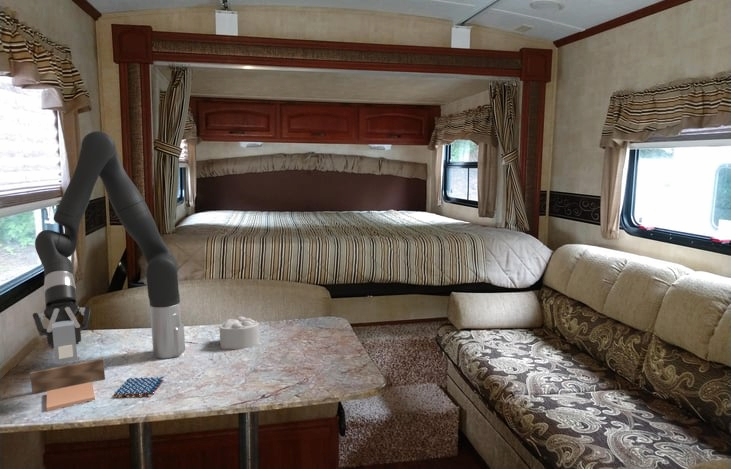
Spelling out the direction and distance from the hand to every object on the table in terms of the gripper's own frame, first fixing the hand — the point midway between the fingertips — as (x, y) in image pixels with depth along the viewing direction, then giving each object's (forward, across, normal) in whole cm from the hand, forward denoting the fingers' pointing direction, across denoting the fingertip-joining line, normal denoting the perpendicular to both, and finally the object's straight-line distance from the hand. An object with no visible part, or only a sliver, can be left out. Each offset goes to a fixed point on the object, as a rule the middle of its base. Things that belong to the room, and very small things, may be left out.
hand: (65, 344), depth 134 cm
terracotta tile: (+10, 0, +12) cm, 16 cm away
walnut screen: (+4, 0, +18) cm, 19 cm away
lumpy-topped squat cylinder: (-1, +52, +23) cm, 57 cm away
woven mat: (+14, +17, +9) cm, 24 cm away
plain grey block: (+2, 0, +5) cm, 5 cm away
